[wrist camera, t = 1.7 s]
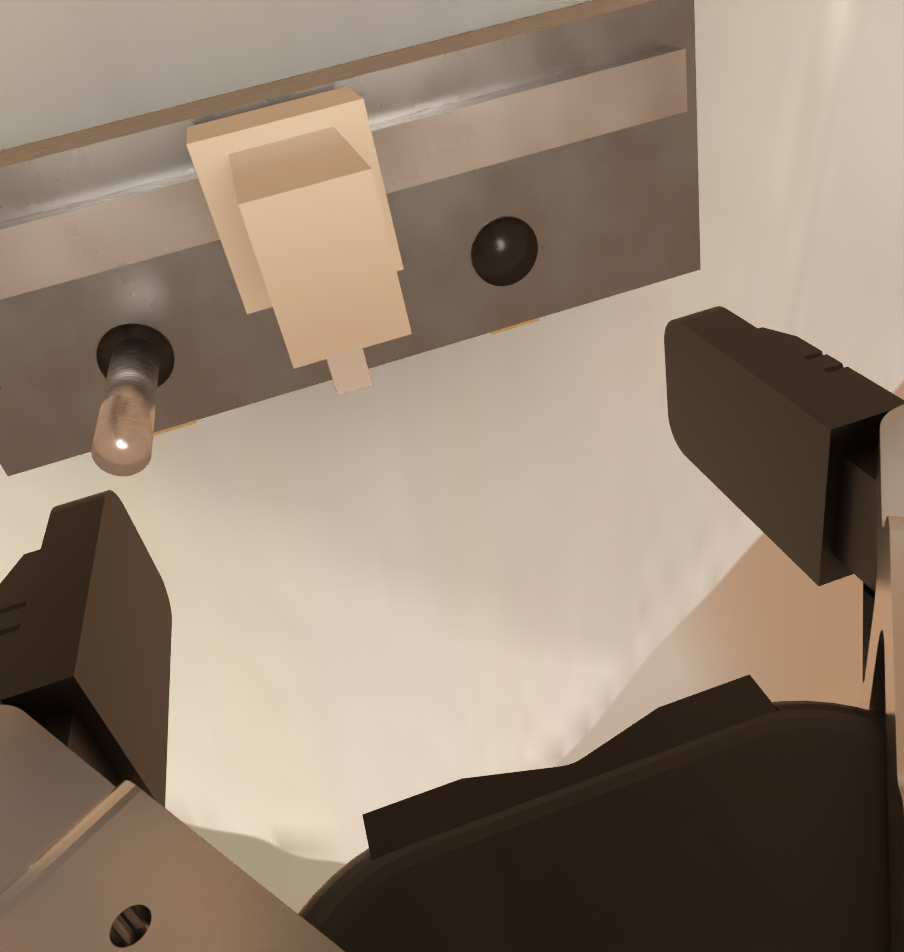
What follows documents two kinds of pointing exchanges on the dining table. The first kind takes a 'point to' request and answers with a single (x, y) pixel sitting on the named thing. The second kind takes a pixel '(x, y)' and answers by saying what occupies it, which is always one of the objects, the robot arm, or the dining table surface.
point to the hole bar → (411, 206)
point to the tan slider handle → (307, 226)
